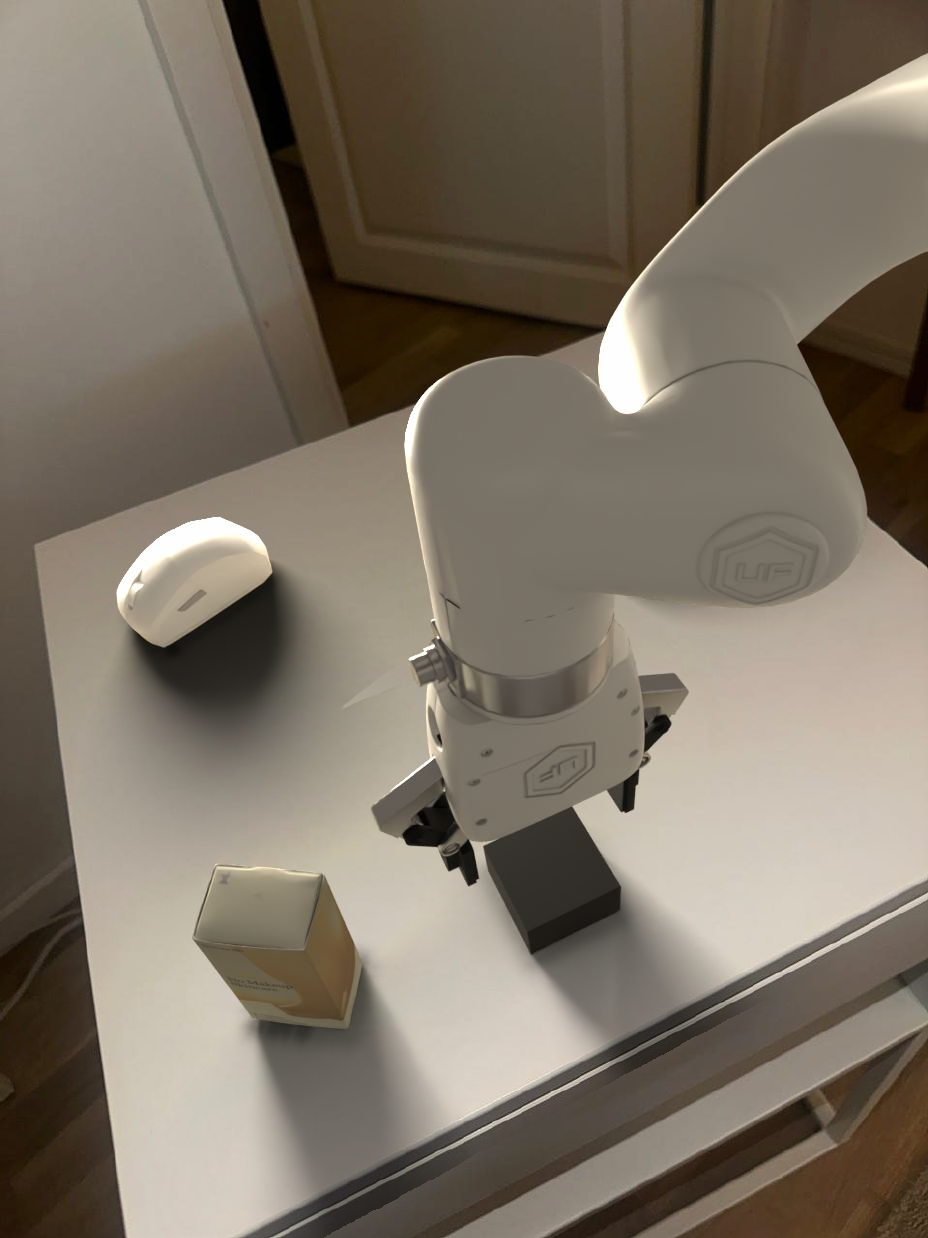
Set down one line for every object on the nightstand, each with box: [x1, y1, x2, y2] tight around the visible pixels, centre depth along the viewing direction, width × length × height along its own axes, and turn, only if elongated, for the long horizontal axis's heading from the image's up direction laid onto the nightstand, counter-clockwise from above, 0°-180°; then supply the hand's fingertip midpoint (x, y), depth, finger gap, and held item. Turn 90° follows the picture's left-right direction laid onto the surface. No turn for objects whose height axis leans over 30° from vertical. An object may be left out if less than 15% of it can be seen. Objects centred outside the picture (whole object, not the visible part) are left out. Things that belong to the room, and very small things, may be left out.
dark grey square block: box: [482, 806, 622, 955], centre depth 59 cm, size 6×6×3 cm
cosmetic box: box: [191, 863, 363, 1030], centre depth 54 cm, size 6×4×12 cm
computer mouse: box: [116, 517, 273, 648], centre depth 79 cm, size 6×13×6 cm, turn 132°
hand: (540, 826), depth 54 cm, fingers open, 9 cm apart
